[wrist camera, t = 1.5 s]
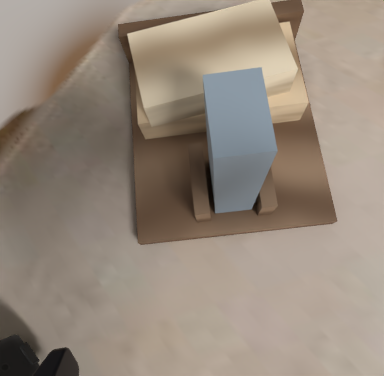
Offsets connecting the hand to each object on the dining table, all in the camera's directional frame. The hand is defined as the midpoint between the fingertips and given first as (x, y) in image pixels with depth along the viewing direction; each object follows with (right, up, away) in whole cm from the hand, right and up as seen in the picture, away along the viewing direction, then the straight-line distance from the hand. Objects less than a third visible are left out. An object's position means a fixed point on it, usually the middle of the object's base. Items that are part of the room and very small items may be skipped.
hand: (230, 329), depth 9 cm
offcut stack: (+1, +12, +17) cm, 21 cm away
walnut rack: (+1, +8, +17) cm, 19 cm away
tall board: (+2, +4, +15) cm, 15 cm away
